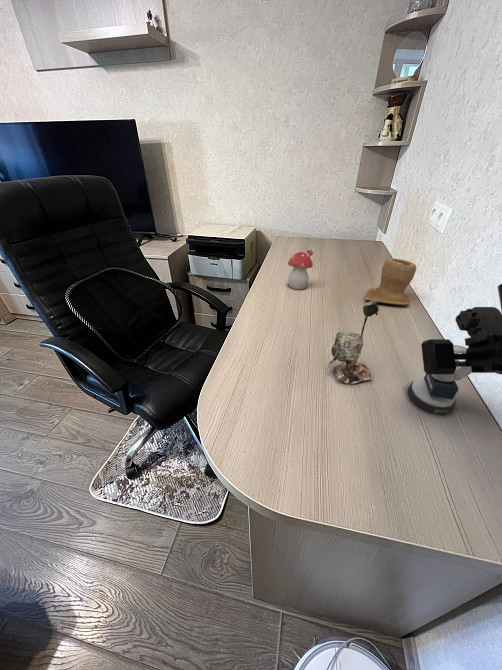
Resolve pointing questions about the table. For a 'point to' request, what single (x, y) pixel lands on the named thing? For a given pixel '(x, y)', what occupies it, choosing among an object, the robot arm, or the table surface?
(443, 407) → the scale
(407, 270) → the brown suede boot
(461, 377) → the watch
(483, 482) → the table surface
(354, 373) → the plant with pod
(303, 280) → the decorative ornament
